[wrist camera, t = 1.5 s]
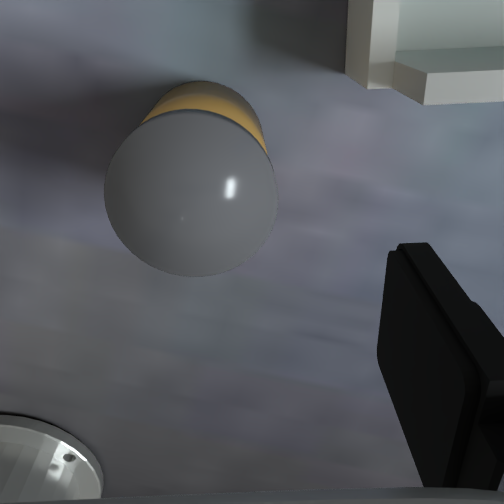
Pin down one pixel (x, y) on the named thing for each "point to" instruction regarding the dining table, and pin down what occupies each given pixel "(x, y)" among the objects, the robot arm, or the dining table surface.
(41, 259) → the dining table surface
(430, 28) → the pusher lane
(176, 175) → the amber jar
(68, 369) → the dining table surface
